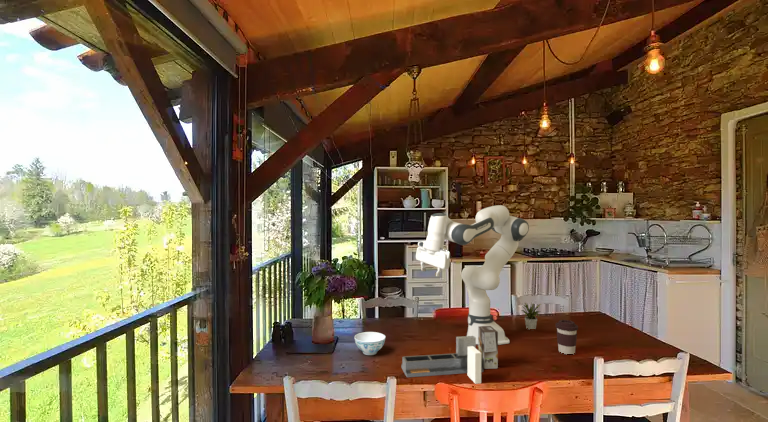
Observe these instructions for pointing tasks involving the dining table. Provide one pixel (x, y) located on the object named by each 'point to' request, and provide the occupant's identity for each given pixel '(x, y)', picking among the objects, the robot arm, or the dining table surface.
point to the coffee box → (488, 346)
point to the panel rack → (440, 361)
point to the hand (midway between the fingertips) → (430, 273)
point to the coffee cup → (566, 336)
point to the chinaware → (369, 342)
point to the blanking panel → (474, 364)
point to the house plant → (531, 316)
